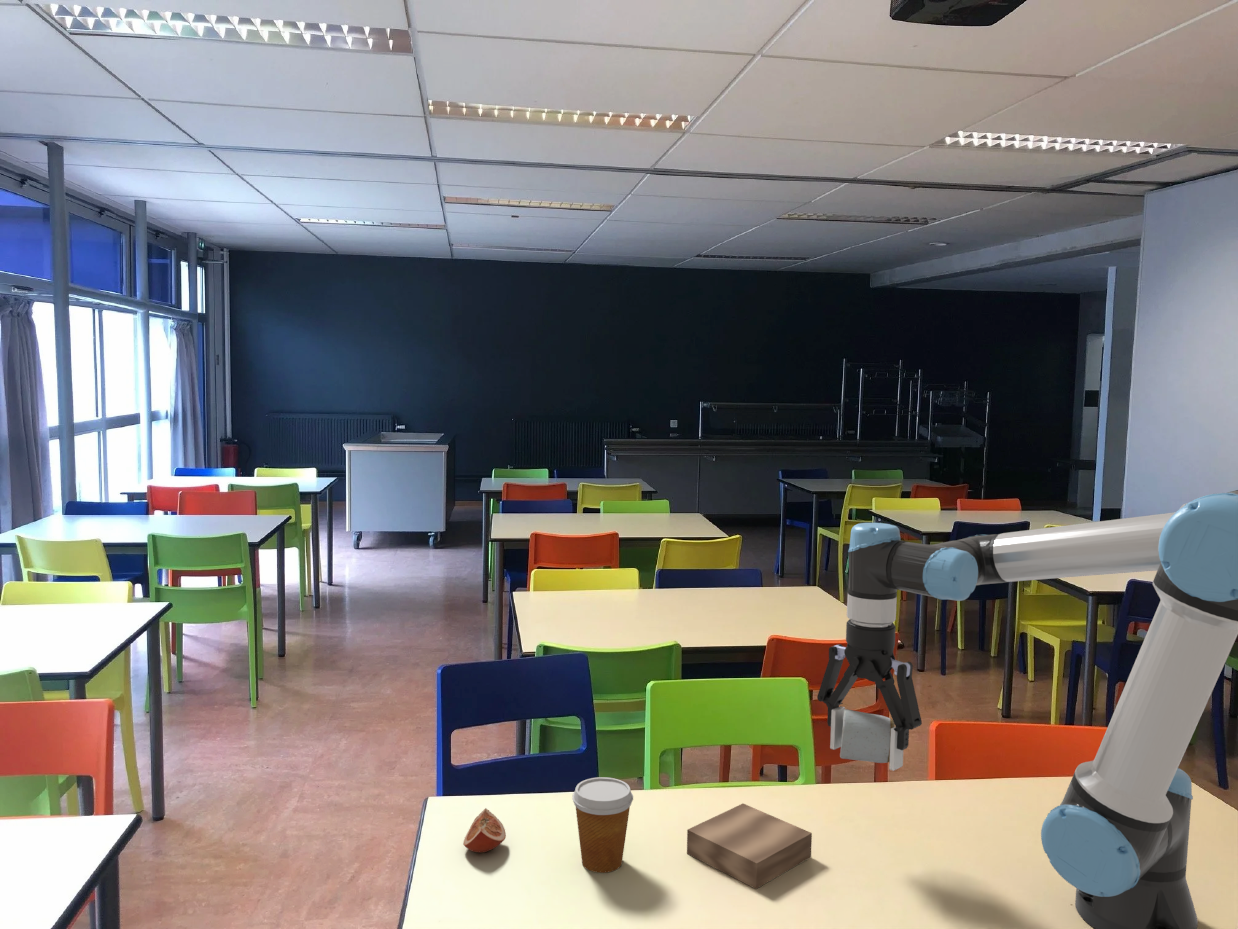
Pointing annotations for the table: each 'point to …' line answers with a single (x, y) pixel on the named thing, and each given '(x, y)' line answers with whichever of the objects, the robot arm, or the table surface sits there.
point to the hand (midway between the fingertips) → (865, 757)
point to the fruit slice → (485, 833)
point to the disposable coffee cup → (602, 821)
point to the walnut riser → (749, 845)
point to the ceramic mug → (866, 737)
